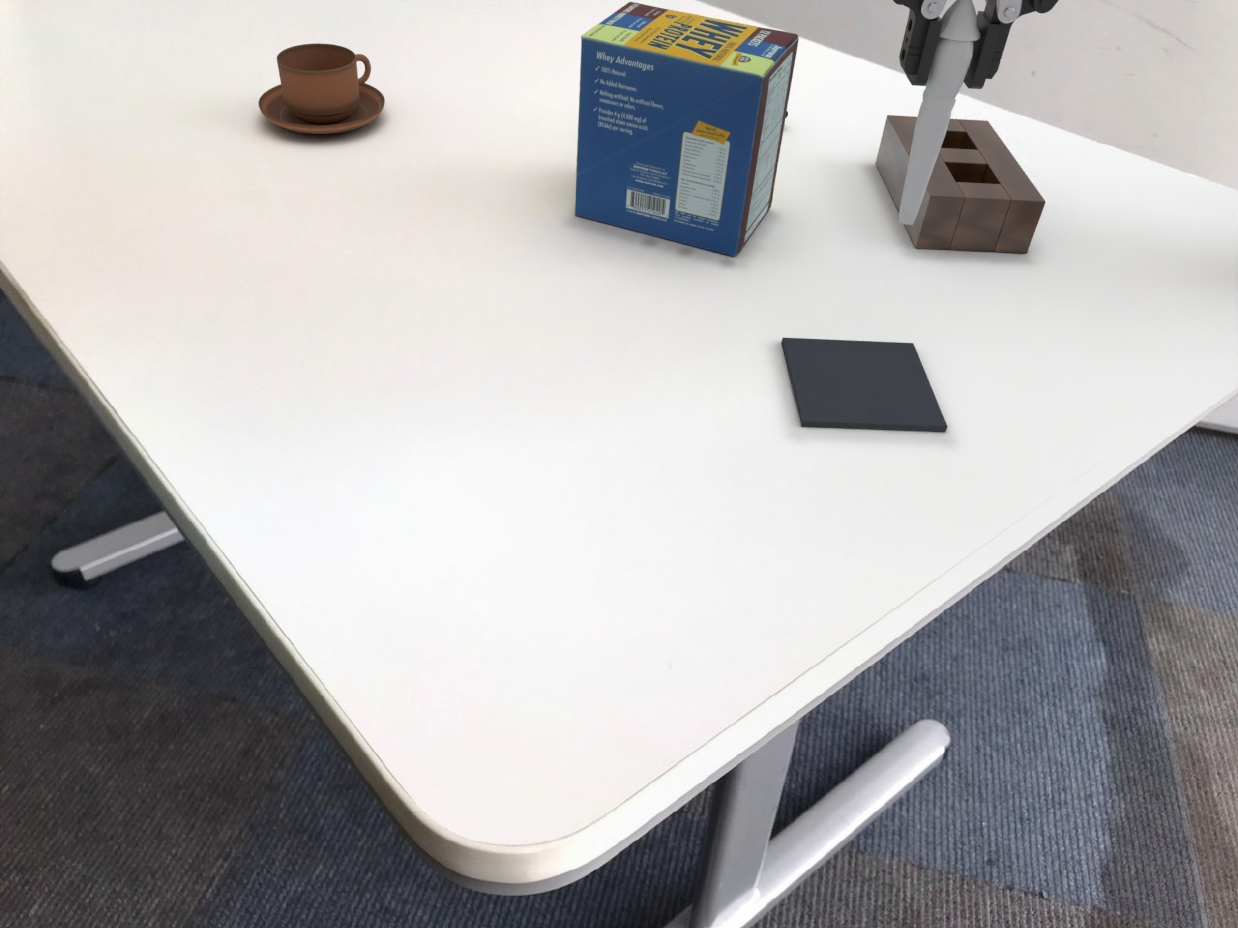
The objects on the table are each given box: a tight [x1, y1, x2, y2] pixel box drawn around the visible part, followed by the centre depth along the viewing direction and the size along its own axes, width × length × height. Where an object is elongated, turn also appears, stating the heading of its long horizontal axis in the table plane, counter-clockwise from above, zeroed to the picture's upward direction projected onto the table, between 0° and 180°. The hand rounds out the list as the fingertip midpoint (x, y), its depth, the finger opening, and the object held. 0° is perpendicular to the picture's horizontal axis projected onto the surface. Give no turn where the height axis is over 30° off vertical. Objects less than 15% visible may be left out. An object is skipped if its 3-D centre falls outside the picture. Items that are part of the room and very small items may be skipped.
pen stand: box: [875, 114, 1046, 254], centre depth 94 cm, size 10×17×5 cm, turn 1°
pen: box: [898, 0, 981, 225], centre depth 60 cm, size 2×3×14 cm
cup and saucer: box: [258, 43, 386, 135], centre depth 99 cm, size 12×12×6 cm
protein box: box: [573, 1, 800, 257], centre depth 86 cm, size 10×15×16 cm
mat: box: [781, 337, 948, 433], centre depth 73 cm, size 10×10×1 cm
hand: (943, 81), depth 59 cm, fingers closed on pen, 2 cm apart
